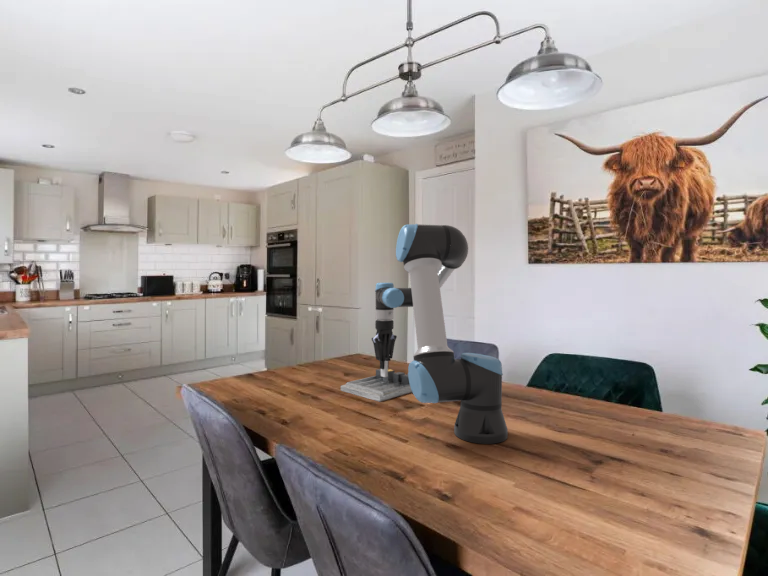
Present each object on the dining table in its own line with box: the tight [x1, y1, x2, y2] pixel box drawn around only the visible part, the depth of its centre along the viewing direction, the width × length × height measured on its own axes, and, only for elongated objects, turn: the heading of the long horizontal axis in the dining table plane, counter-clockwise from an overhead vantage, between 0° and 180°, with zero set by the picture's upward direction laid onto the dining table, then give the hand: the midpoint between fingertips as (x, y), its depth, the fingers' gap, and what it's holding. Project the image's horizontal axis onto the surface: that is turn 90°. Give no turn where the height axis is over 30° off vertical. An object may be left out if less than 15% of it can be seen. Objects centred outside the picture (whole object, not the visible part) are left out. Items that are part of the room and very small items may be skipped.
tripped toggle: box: [383, 368, 396, 381], centre depth 181 cm, size 4×3×4 cm
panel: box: [340, 368, 413, 402], centre depth 175 cm, size 26×22×6 cm
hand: (384, 376), depth 179 cm, fingers closed
